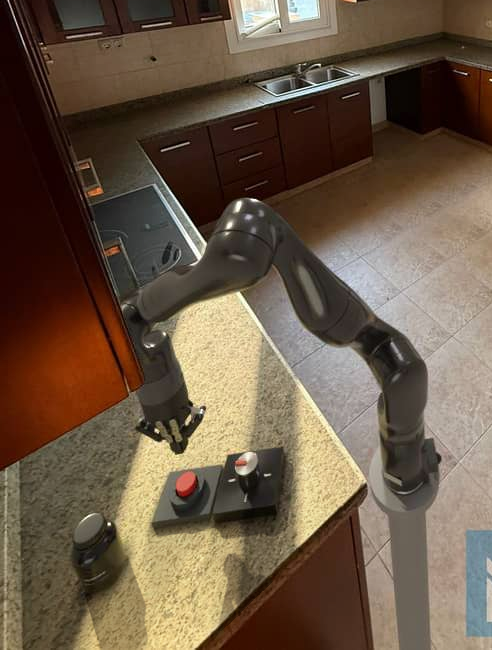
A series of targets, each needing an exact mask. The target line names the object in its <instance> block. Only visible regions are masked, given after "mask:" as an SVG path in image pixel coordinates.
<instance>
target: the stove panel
mask: <svg viewBox="0 0 492 650" xmlns="http://www.w3.org/2000/svg"><path fill="white" fill-rule="evenodd" d="M247 452H248V451H243V452H237V453H229V454H227V455H226V458H225V463H224V465H223V469H224V470H223V474H222V478H221V482H220V486H219V490H218V494H217V498H216V502H215V506H214V509H213V513H212V518H213V523H214V525H218V524H224V523H231V522H237V521H244V520H250V519H256V518H262V517H263V518H264V517H268V516H275V515H278V510H279V503H280V496H281V487H282V480H283V473H284V465H285V457H286V455H285V449H284V446H278V447H271V448H264V449H258V450H251V451H249V452H253V453H255V454H256V455H257V458H258V462H259V467H260V471H261V477H260V480H259V482H258V483H257V485H256V486H255V487H253V488H252V489H249V490H243V489H241V488H240V486H239V483H238V479H237V475H236V471H235V463H236V462H237V460H238V459H239V457H240V456H241V455H243V454H244V453H247Z"/></svg>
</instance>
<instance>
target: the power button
mask: <svg viewBox="0 0 492 650" xmlns="http://www.w3.org/2000/svg"><path fill="white" fill-rule="evenodd" d="M196 485H197V480H196V477H195V474H194V473H193V472H186V473H184V474H183V475H181V476H180V478H179V479H178V480H177V483H176V490H177V493H178V495H179V496H180V497H186V496H188V495H190V494H191V493H192V492H193V491H194V489H195V488H196Z"/></svg>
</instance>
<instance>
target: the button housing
mask: <svg viewBox="0 0 492 650" xmlns="http://www.w3.org/2000/svg"><path fill="white" fill-rule="evenodd" d="M223 470H224V465H223V464H215V465H209V466H208V465H207V466H203V467H195V468H189V469H182V470H175V471H169V473H168V476H167V478H166V480H165V484H164V486H163V490H162V492H161V495H160V498H159V500H158V503H157V506H156V508H155V511H154V514H153V517H152V520H151V522H150V523H151V526H152V528H153V529H155V528H156V529H157V528H163V527H168V526H174V525H175V526H176V525H181V524H188V523H195V522H200V521H206V520H207V521H208V520H212V518H213V515H212V513H213V509H214V506H215V502H216V498H217V494H218V490H219V486H220V482H221V478H222V474H223ZM186 472H193V473H194V474H195V477H196V480H197V485H196V488H195V489H194V491H193V492H192V493H191V494H190V495H188V496H186V497H180V496H179V495H178V493H177V490H176V483H177V480H178V479H179V478H180V476H181V475H183V474H184V473H186Z"/></svg>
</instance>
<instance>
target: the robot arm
mask: <svg viewBox="0 0 492 650" xmlns="http://www.w3.org/2000/svg"><path fill="white" fill-rule="evenodd" d="M272 267H273V269H274V270H275V272H276V273H277V274H278V276H279V278H280V281H281V283H282V285H283V288H284V291H285V293H286V295H287V299H288V301H289V304H290V306H291V308H292V311H293V314H294V315H295V317H296V319H297V320H298V322H299V324H300V325H301V326H302V327H303V328H304V329H305V330H306V331H307V332H309V333H310V334H311V335H312V336H314V337H315V338H316V339H318V340H319V341H321V342H322V343H324V344H325V345H327V346H330V347H331V348H336V349H344V348H345V349H346V348H350V349H352V350H353V351H354V352H355V353H356V354H357V355H358V356H359V357H360V358H361V359H362V360H363V361H364V362H365V364H366V365H367V367H368V369H369V370H370V372H371V374H372V376H373V378H374V380H375V382H376V383H377V385H378V387H379V389H380V391H381V392H380V393H379V395H378V397H377V402H376V412H377V413H376V414H377V423H378V436H379V446H380V449H381V461H382V477H383V480H384V483H385V485H386V486H387V488H388V489H389V490H390V491H391V492H393V493H395V494H397V495H401V496H407V495H411V494H413V493H415V492H416V491H418V490H419V489H420V488H421V486H422V485H423V484H426V483H428V474H429V473H435V472H438V464H439V465H440V464H441V463H442V461H443V458H442V455H441V454H440V453H439V452H438V451H437V450H436V443H435V438H434V437H428V438H426V433H425V432H426V431H425V409H426V407H427V403H428V397H429V396H428V395H429V370H428V367H427V363H426V362H425V360H424V359H423V357H422V355H420V353H419V351H418V349H416V347H415V346H414V344H413V343H412V341H411V340H410V338H408V337H407V336H406V335H405V334H404V333H403V332H402V331H400V330H398V329H397V328H396V327H394V326H392V325H391V324H389V323H387V322H386V321H384V320H383V319H382V318H380V317H379V316H378V315H377V314H376V313H375V312H374V311H373V309H372V308H371V306H369V304H368V303H367V302H366V301H365V300H364V299H363V298H362V297H361V296H360V295H359V293H358V292H356V291H355V290H354V289H353V288H352V287H351V286H350V285H349V284H347V283H346V281H344V280H343V279H342V278H340V277H339V276H338V275H337V274H335V272H334V271H332V270H331V269H330V268H329V267H328V266H327V265H326V264H325V263H324V261H322V260H321V259H320V258H319V257H318V256H317V255H316V254H315V253H314V252H313V251H312V250H311V248H310V247H308V245H307V244H306V243H305V242H304V241H303V239H302V238H301V237H300V236H299V235H298V234H297V233H296V231H295V230H294V229H293V228H292V226H291V225H290V224H289V223H288V222H287V220H286V219H285V218H284V217H283V216H282V215H281V214H280V213H279V212H278V211H277V210H276V209H274V208H273V207H271V206H270V205H268V204H266V203H264V202H263V201H261V200H258V199H255V198H250V197H240V198H237V199H234V200H232V201H231V202H229V204H228V205H227V206H226V207H225V208H224V210H223V212H222V214H221V216H220V217H219V219H218V221H217V223H216V225H215V227H214V229H213V231H212V233H211V235H210V236H209V239H208V241H207V243H206V245H205V248H204V252H203V255H202V256H201V258H200V259H199V260H198V262H197V263H196V264H195V265H191V264H180V265H176V266H175V265H174V266H172V267H170V268H168V269H166V270H165V271H164V272H162V273H161V274H159V275H157V276H156V277H154V278H153V279H152V280H150V281H148V282H146V283H145V284H143V285H142V286H140V287H139V288H138V289H136V290H135V291H134V292H133V293H131V294H130V295H129V296H128V297H126V298H125V299H124V300H123V301H122V302H120V303H119V304H121V307H122V310H123V315H124V319H125V321H126V324H127V327H128V330H129V333H130V336H131V339H132V341H133V343H134V346H135V349H136V352H137V355H138V358H139V361H140V363H141V365H142V368H143V370H144V375H145V382H144V384H143V386H142V387H140V388H139V389H138V390H135V392H136V396H137V398H138V401H139V404H140V408H141V410H142V413H141V415H140V416H139V419H138V421H137V423H136V425H135V426H134V430H135V431H136V432H138V433H140V434H142V435H144V436H146V437H147V438H149V439H151V440H153V441H155V442H157V443H161V442H163V441H166V443H167V444H169V448H170V451H171V452H172V453H174V455H176V456H177V455H183V454H184V453H185V451H186V450H187V448H188V445H189V442H190V440H189V439H190V438H191V437H192V436H193V434H194V433H195V432H196V430H197V429H198V428H199V425H201V423H202V422H203V420H204V418H205V414H206V411H207V406H206V405H200V407H196V406H194V403H193V401H192V400H191V399H190V398H189V390H188V386H187V383H186V379H185V377H184V372H183V370H182V369H183V368H182V365H181V364H180V361H179V359H178V357H177V355H176V352H175V351H176V350H175V348H174V345H173V342H172V338H171V336H170V334H169V333H168V332H166V331H165V330H162V329H155V328H156V327H157V326H158V325H159V324H160V323H164V322H167V321H169V320H172V319H174V318H175V317H177V316H178V315H180V314H182V313H184V312H186V311H187V310H189V309H190V308H192V307H194V306H196V305H198V304H201V303H205V302H208V301H212V300H216V299H220V298H222V297H223V298H224V297H226V296H231V295H233V294H236V293H239V292H243V291H246V290H248V289H251V288H254V287H255V286H257V285H259V284H260V283H262V282H263V281H264V280H265V279H267V278H266V277H267V276H268V275H269V273H270V272H271V269H272ZM154 329H155V330H154ZM189 417H190V421H189V422H188V423H186V422H187V420H188V418H189ZM156 430H158V432H156Z"/></svg>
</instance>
